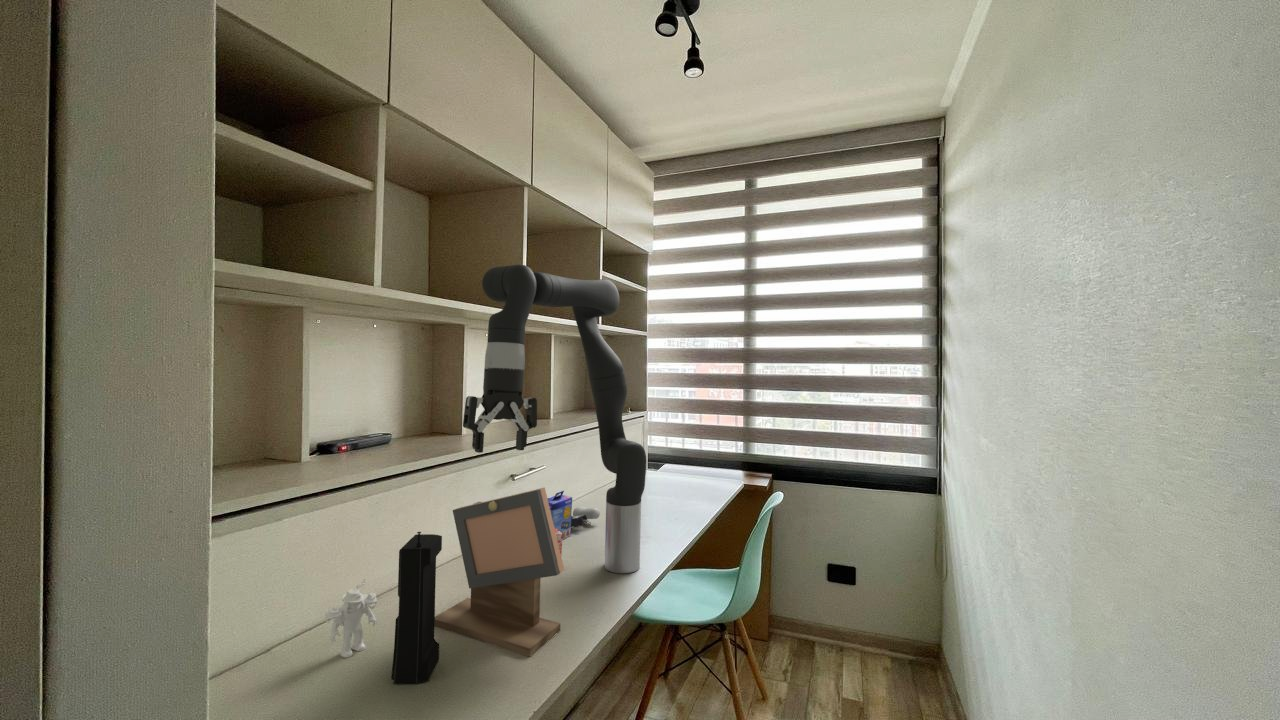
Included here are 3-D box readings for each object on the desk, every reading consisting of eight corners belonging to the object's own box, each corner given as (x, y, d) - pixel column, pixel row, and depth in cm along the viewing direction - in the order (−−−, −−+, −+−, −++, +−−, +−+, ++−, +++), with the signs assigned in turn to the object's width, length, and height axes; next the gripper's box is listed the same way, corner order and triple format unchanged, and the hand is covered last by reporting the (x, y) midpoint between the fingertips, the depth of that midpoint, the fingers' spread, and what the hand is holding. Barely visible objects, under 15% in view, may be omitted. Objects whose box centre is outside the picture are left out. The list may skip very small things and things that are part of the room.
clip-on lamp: (542, 531, 169) (582, 531, 159) (538, 512, 170) (577, 511, 159) (566, 519, 179) (605, 518, 169) (562, 501, 179) (601, 499, 169)
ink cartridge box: (551, 546, 148) (552, 496, 148) (536, 542, 151) (537, 493, 151) (572, 536, 157) (573, 488, 157) (557, 532, 160) (558, 486, 160)
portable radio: (406, 657, 92) (410, 518, 92) (441, 656, 93) (444, 518, 93) (389, 685, 85) (392, 533, 84) (426, 684, 85) (430, 533, 85)
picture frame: (477, 583, 106) (461, 507, 108) (564, 570, 98) (544, 487, 100) (467, 589, 104) (450, 510, 105) (555, 576, 95) (535, 490, 97)
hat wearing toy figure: (370, 636, 99) (371, 574, 99) (381, 643, 97) (383, 579, 97) (320, 659, 91) (321, 591, 91) (331, 666, 89) (333, 597, 89)
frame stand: (467, 604, 112) (470, 497, 112) (560, 630, 103) (563, 513, 103) (431, 625, 103) (434, 509, 103) (529, 656, 93) (533, 528, 93)
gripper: (527, 369, 107) (523, 447, 106) (461, 364, 98) (455, 450, 97) (546, 369, 102) (542, 451, 101) (477, 364, 92) (472, 455, 91)
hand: (499, 451), depth 99 cm, fingers open, 8 cm apart
